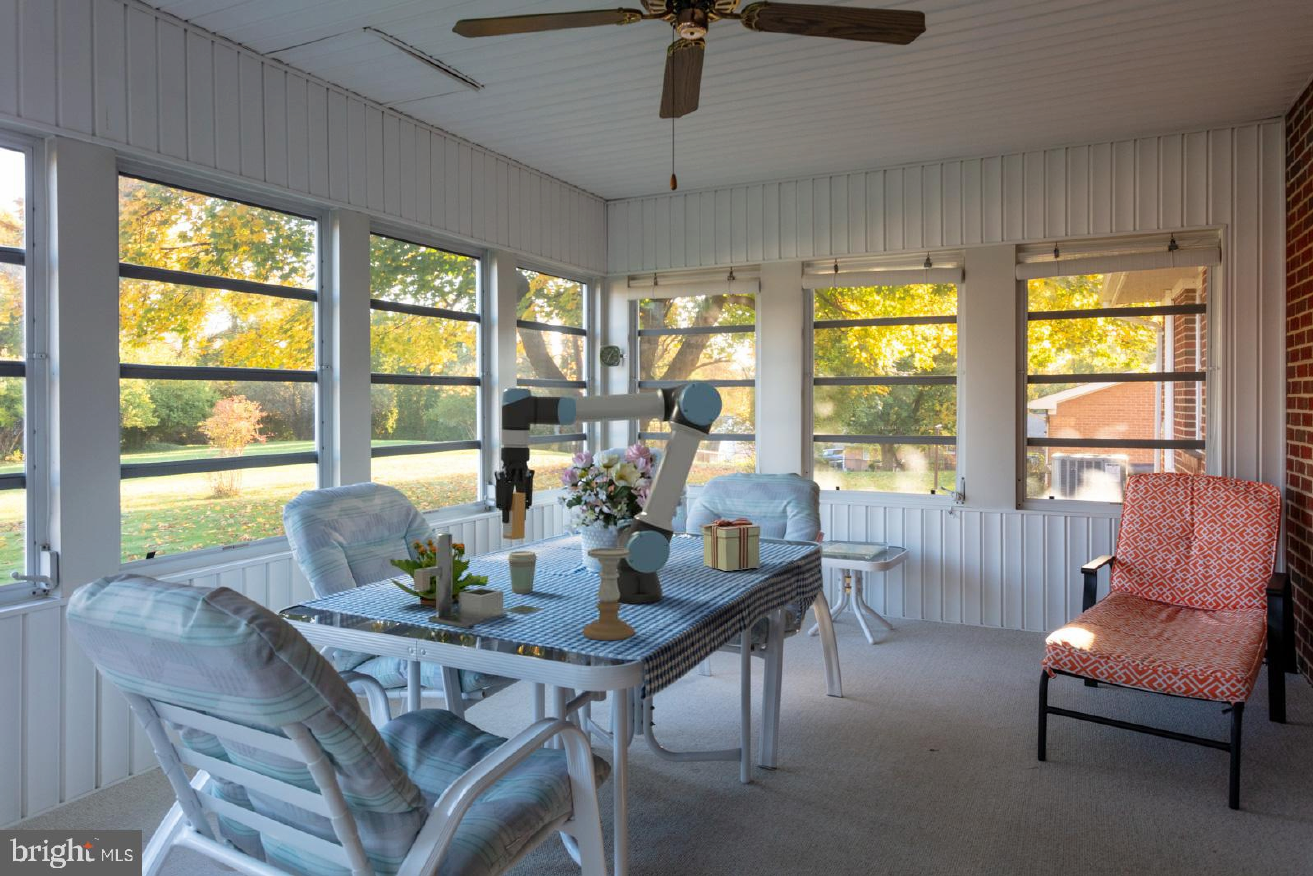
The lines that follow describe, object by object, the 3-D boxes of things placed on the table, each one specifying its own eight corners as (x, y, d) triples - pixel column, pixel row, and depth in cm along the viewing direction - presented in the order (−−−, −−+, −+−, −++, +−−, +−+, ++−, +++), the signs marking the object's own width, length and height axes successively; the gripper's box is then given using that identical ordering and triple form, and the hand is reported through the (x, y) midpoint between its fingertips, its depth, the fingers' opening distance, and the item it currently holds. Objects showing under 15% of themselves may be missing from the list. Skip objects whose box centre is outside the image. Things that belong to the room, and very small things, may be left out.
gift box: (728, 561, 305) (729, 514, 304) (762, 569, 290) (763, 519, 289) (691, 565, 295) (692, 517, 295) (725, 574, 280) (725, 523, 279)
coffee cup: (539, 590, 250) (539, 551, 250) (532, 596, 242) (532, 555, 242) (512, 590, 251) (512, 550, 251) (504, 596, 243) (504, 555, 242)
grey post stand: (507, 617, 217) (507, 533, 216) (453, 633, 200) (453, 542, 200) (467, 610, 224) (468, 529, 223) (412, 625, 208) (412, 537, 207)
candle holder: (580, 640, 195) (581, 555, 194) (585, 627, 207) (585, 546, 207) (633, 641, 195) (633, 555, 194) (634, 627, 207) (635, 547, 207)
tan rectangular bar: (524, 538, 221) (525, 493, 221) (514, 539, 218) (515, 494, 218) (513, 536, 223) (514, 492, 223) (502, 538, 220) (503, 493, 220)
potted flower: (456, 615, 219) (456, 549, 218) (373, 610, 223) (373, 545, 223) (491, 595, 243) (492, 535, 243) (416, 591, 248) (416, 533, 247)
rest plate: (544, 611, 224) (544, 608, 224) (525, 617, 217) (525, 614, 217) (521, 607, 228) (521, 605, 228) (502, 613, 221) (502, 610, 221)
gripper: (526, 445, 229) (524, 530, 230) (482, 446, 215) (480, 536, 215) (547, 446, 225) (545, 532, 226) (503, 447, 211) (502, 539, 211)
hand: (513, 534), depth 221 cm, fingers closed on tan rectangular bar, 4 cm apart
